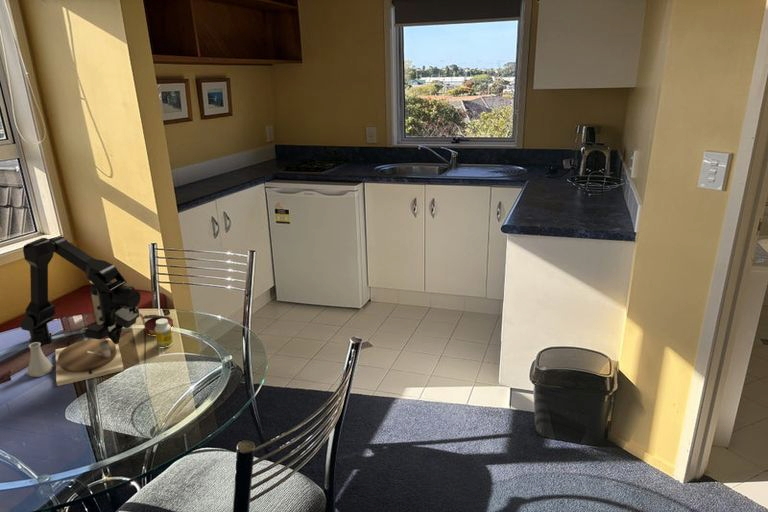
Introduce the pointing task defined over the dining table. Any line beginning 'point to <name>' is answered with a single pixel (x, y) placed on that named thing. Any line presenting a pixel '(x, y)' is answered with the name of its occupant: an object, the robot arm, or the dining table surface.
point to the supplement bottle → (163, 333)
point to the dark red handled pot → (154, 323)
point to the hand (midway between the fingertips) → (116, 343)
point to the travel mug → (96, 304)
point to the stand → (71, 377)
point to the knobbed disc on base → (87, 355)
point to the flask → (38, 362)
